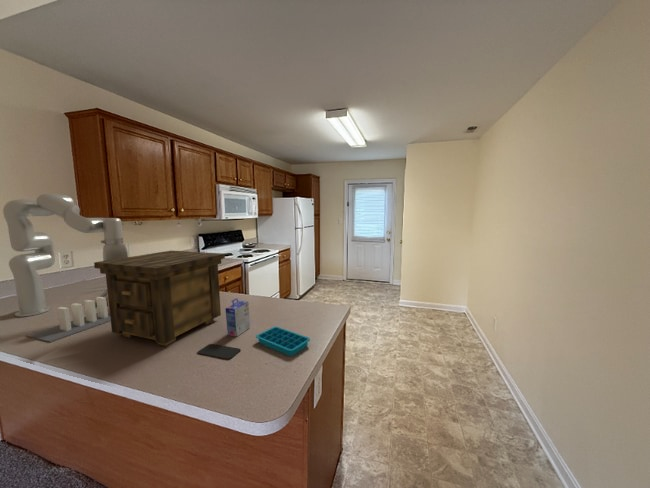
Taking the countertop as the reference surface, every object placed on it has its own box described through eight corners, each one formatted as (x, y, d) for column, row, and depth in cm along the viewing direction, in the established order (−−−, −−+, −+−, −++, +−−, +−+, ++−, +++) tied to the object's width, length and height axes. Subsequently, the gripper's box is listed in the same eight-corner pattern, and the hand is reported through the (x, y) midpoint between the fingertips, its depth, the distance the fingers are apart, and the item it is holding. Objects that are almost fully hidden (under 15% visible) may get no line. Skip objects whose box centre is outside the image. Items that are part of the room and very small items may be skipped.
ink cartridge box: (240, 325, 122) (239, 295, 120) (250, 327, 120) (249, 296, 118) (226, 335, 112) (224, 302, 111) (237, 337, 111) (235, 303, 109)
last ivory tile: (60, 329, 118) (57, 308, 117) (64, 327, 119) (61, 306, 118) (67, 330, 116) (64, 309, 115) (71, 329, 118) (68, 308, 117)
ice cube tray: (275, 332, 115) (275, 326, 115) (311, 345, 104) (311, 338, 103) (254, 343, 106) (254, 336, 105) (291, 359, 94) (291, 351, 94)
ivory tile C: (73, 324, 123) (71, 304, 121) (77, 323, 124) (75, 303, 123) (80, 326, 121) (77, 305, 120) (84, 324, 123) (82, 304, 121)
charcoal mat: (26, 336, 112) (26, 335, 112) (110, 309, 143) (110, 308, 143) (50, 342, 107) (50, 341, 107) (132, 313, 138) (132, 312, 138)
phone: (210, 343, 105) (242, 348, 100) (210, 345, 105) (242, 350, 100) (195, 352, 98) (229, 359, 93) (195, 354, 98) (229, 361, 93)
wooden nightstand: (228, 318, 130) (224, 253, 126) (163, 354, 98) (156, 268, 94) (175, 309, 142) (171, 250, 138) (102, 339, 110) (94, 262, 106)
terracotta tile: (108, 313, 137) (106, 294, 135) (112, 312, 138) (110, 293, 137) (115, 314, 135) (113, 295, 134) (118, 313, 137) (116, 294, 135)
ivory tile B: (86, 320, 127) (83, 300, 126) (90, 319, 129) (87, 299, 128) (93, 322, 126) (90, 301, 125) (96, 320, 127) (94, 300, 126)
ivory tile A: (98, 316, 132) (95, 297, 131) (101, 315, 134) (99, 296, 132) (104, 318, 130) (102, 298, 129) (108, 316, 132) (106, 297, 131)
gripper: (95, 243, 128) (100, 280, 130) (133, 241, 138) (136, 275, 141) (94, 242, 133) (98, 277, 135) (130, 240, 144) (133, 273, 146)
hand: (117, 276), depth 138 cm, fingers closed
